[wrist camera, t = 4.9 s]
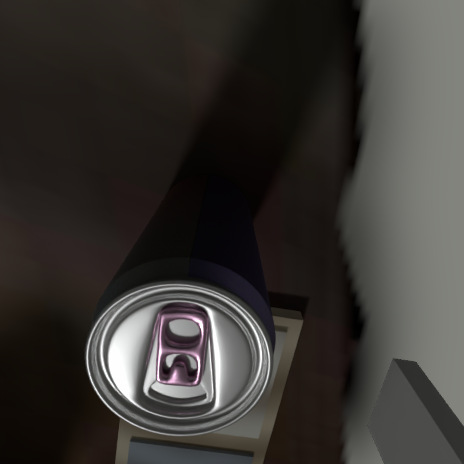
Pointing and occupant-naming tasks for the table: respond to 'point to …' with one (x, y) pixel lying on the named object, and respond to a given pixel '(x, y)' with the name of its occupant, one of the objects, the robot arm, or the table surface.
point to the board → (227, 439)
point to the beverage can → (186, 317)
